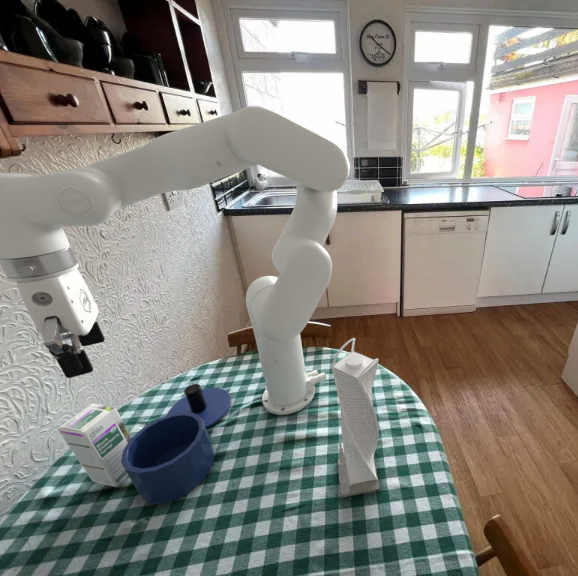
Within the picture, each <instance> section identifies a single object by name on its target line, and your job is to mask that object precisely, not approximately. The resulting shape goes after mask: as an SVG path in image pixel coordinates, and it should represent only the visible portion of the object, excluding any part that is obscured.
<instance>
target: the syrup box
mask: <svg viewBox="0 0 578 576" xmlns="http://www.w3.org/2000/svg"><path fill="white" fill-rule="evenodd" d="M57 431H58V432H59V434H60V435H61V436H62V438H63V440H64V441H65V443H66V445H67V446H68V448H69V449H70V450H71V451H72V453H73V454H74V456H75V457H76V459H77V461H78V462H79V463H80V465H81V466H82V468H83V469H84V471H85V472H86V474H87V475H88V477H89V478H90V480H91V481H92V482H94V483H97V484H100V485H105V486H110V487H114V488H118V487H119V485H120V484H121V483H122V482H124V480H125V479H126V478H127V477H129V476H128V474H127V472H126V470H125V468H124V467H123V465H122V463H121V459H122V453H123V450H124V448H125V447H126V445H127V444H128V442H129V441H130V439H131V438H132V436H131V434H130V432H129V431H128V429H127V427H126V425H125V423H124V420H123V419H122V417H121V415H120V413H119V412H118V409H117V408H116V407H114V406H110V405H105V404H100V403H90V404H88V405H87V407H86V408H84V409H83V410H81V411H80V412H79V413H77V414H76V415H74V416H72V417H71V418H70V419H68V420H67V421H66V422H65V423H62V424H61V425H60V426H59V427H58V428H57Z"/></svg>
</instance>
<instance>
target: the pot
mask: <svg viewBox="0 0 578 576" xmlns="http://www.w3.org/2000/svg"><path fill="white" fill-rule="evenodd" d="M214 462H215V451H214V447H213V444H212V441H211V439H210V436H209V433H208V430H207V428H206V427H205V424H204V422H203V420H202V419H201V418H200V417H199V416H198V415H197V414H193V413H189V412H183V413H175V414H171V415H168V416H167V415H166V416H162V417H160V418H157V419H156V420H154V421H153V422H151V423H149V424H147V425H145V426H144V427H142V428H141V429H140V430H139V431H138V432H137V433H136V434H134V436H131V439H130V441H129V442H128V444H127V445H126V447H125V448H124V450H123V453H122V459H121V463H122V465H123V467H124V468H125V470H126V472H127V474H128V476H127V477H129V479H130V481H131V483H132V484H133V487H134V488H135V491H136V492H137V493H138V495H139V496H140V498H141V499H142V500H143V501H144V502H146V503H149V504H153V505H163V504H166V503H170V502H173V501H176V500H178V499H180V498H182V497H184V496H186V495H187V494H189V493H190V492H192V491H193V490H194V489H196V488H197V487H198V486H199V485H200V484H201V483H202V482H203V481H204V480H205V479H206V478H207V476H208V474H209V473H210V471H211V470H212V468H213V465H214Z"/></svg>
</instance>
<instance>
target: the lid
mask: <svg viewBox="0 0 578 576" xmlns="http://www.w3.org/2000/svg"><path fill="white" fill-rule="evenodd" d="M183 393H184V397H182V398H181V399H179V400H178V401H177V402H175V403H174V404H173V405H172V407H171V408H170V409H169V410H168V412H167V414H166V416H168V415H171V414H175V413H183V412H189V413H193V414H197V415H198V416H199V417H200V418H201V419H202V420H203V422H204V424H205V427H206V429H208V428H210V427H212V426H213V425H215V424H217V423H218V422H220V421H221V419H223V417H225V416H226V415H227V413H228V411H229V410H230V408H231V407H232V406H231V405H232V397H231V394H230V392H229V391H227V390H226V389H223V388H220V387H207V388H202V387H201V385H200V384H199V383H193V384H190V385H188V386H187V387H185V388H184V390H183Z"/></svg>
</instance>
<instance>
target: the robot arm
mask: <svg viewBox="0 0 578 576" xmlns="http://www.w3.org/2000/svg"><path fill="white" fill-rule="evenodd" d="M256 166H260V167H262V168H264V169H266V170H268V171H271V172H273V173H276V174H278V175H280V176H282V177H285V178H287V179H290V180H293V182H294V184H295V188H296V200H295V204H294V207H293V209H292V211H291V214H290V216H289V218H288V220H287V222H286V224H285V225H284V228H283V229H282V231H281V233H280V235H279V238H278V239H277V240H276V243H275V245H274V247H273V249H272V252H271V262H272V264H273V266H274V268H275V270H277V272H278V276H274V275H264V276H260V277H258V278H257V279H255V280H254V281H252V282H251V284H250V285H249V286H248V288H247V290H246V293H245V305H246V309H247V314H248V317H249V320H250V324H251V327H252V330H253V335H254V339H255V343H256V347H257V353H258V357H259V362H260V366H261V370H262V374H263V379H264V384H265V390H264V392H263V394H262V396H261V400H262V401H261V403H262V405H263V407H264V409H265V410H266V411H267V412H269V413H271V414H274V415H277V416H284V415H285V416H286V415H291V414H295V413H297V412H299V411H302V410H303V409H304V408H305V407H307V406H308V405H309V404H310V403H311V402H312V400H313V399H314V397H315V393H316V387H315V386H316V384H317V383H321V382H324V381H326V380H327V374H326V373H325V372H321V373H319V372H318V369H314V370H312V371H310V372H308V371H306V364H305V357H304V351H303V345H302V338H301V333H302V332H303V330H304V329H305V328H306V326H307V325H308V324H309V322H310V320H311V318H312V316H313V315H314V312H315V311H316V309H317V307H318V306H319V304H320V301H321V299H322V297H323V296H324V294H325V292H326V290H327V288H328V286H329V284H330V281H331V278H332V274H333V261H332V258H331V255H330V254H329V252H328V251H327V250H326V248H324V245H325V243H326V241H327V238H328V236H329V234H330V232H331V231H332V230H331V229H332V228H333V226H334V223H335V220H336V217H337V212H338V195H337V190H339V189H341V188H342V187H343V186H344V185H345V184H346V182H347V180H348V178H349V175H350V161H349V158H348V155H347V154H346V153H345V151H344V150H343V148H342V147H340V146H339V145H338V144H337V143H335V142H334V141H333V140H331V139H329V138H327V137H326V136H323V135H321V134H320V133H317V132H315V131H313V130H311V129H309V128H307V127H305V126H303V125H301V124H300V123H298V122H296V121H294V120H292V119H290V118H289V117H286V116H284V115H282V114H280V113H279V112H277V111H274V110H273V109H270V108H268V107H266V106H262V105H248V106H245V107H243V108H241V109H239V110H236V111H233V112H230V113H228V114H223V115H221V116H218V117H215V118H211V119H209V120H206V121H203V122H199V123H196V124H193V125H190V126H187V127H182V128H181V129H178V130H174V131H170V132H167V133H165V134H162V135H159V136H157V137H155V138H153V139H151V140H150V141H149V142H147V143H145V144H143V145H142V146H140V147H137V148H134V149H132V150H129V151H125V152H124V153H120V154H118V155H114V156H111V157H109V158H105V159H102V160H99V161H96V162H92V163H89V164H87V165H82V166H79V167H75V168H71V169H67V170H66V169H65V170H62V171H56V172H52V173H45V174H38V175H33V174H30V173H26V172H25V173H23V172H1V173H0V267H1V270H2V271H3V274H4V275H5V277H6V278H7V281H9V282H14V283H16V285H17V287H18V290H19V293H20V296H21V298H22V301H23V303H24V305H25V307H26V309H27V313H28V314H29V316H30V318H31V320H32V322H33V324H34V326H35V328H36V330H37V331H38V333H39V334H40V336H41V338H42V339H43V340H42V343H43V346H44V347H45V348H46V349H47V350H48V352H49V354H51V356H52V357H53V359H54V360H56V363H57V364H58V365H59V367H60V369H61V371H62V373H63V375H64V377H65V378H67V379H71V378H75V377H79V376H82V375H86V374H90V373H93V371H94V367H93V365H92V363H91V360H90V359H89V357H88V353H87V352H86V350H85V349H81V346H82V347H87V346H92V345H96V344H100V343H104V342H105V340H106V338H105V336H104V334H103V332H102V329H101V326H100V325H99V323H98V321H97V318H98V316H99V313H100V309H99V307H98V304H97V303H96V301H95V298H94V297H93V295H92V293H91V291H90V289H89V287H88V285H87V283H86V281H85V279H84V277H83V276H82V274H81V272H80V271H79V269H78V268H79V267H80V264H79V262H78V260H77V258H76V255H75V253H74V251H73V249H72V246H71V243H70V242H69V239H68V237H67V235H66V232H65V230H64V228H63V227H72V228H73V227H74V228H75V227H79V228H81V227H92V226H98V225H100V224H103V223H105V222H107V221H108V220H109V219H110V218H111V217H112V216H113V215H114V213H116V212H117V211H119V210H121V209H124V208H127V207H129V206H131V205H134V204H136V203H139V202H142V201H145V200H147V199H150V198H154V197H155V196H160V195H162V194H165V193H169V192H176V191H190V190H194V189H198V188H201V187H203V186H206V185H208V184H211V183H213V182H216V181H218V180H221V179H223V178H227V177H229V176H231V175H234V174H237V173H239V172H242V171H245V170H248V169H250V168H253V167H256ZM66 333H68V334H66ZM62 334H63V335H62ZM69 340H70V342H71V343H70V344H71V345H70V344H68V343H63V342H66V341H69Z"/></svg>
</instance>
